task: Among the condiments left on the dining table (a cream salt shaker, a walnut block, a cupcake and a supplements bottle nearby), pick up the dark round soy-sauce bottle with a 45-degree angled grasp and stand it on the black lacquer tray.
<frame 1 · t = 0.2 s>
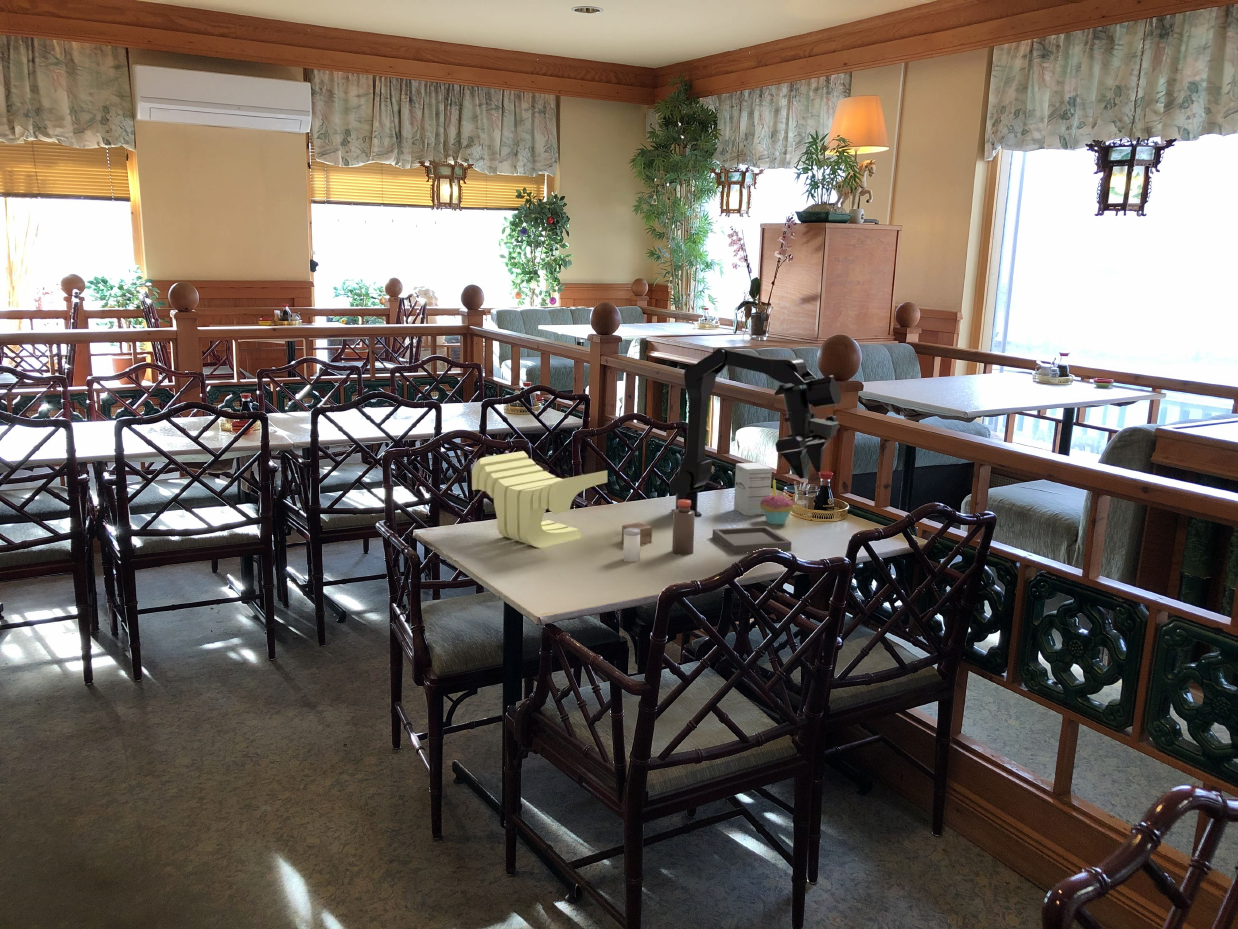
hand: (810, 475, 231), 15 cm above the table, tool pointing down, fingers open, 9 cm apart
soy bottle: (682, 552, 221), on the table
walnut block: (636, 542, 228), on the table
salt shaker: (631, 559, 214), on the table
tray: (750, 543, 228), on the table
cupcake: (775, 522, 248), on the table
slatted curved stool: (538, 539, 230), on the table
supplement box: (751, 512, 258), on the table
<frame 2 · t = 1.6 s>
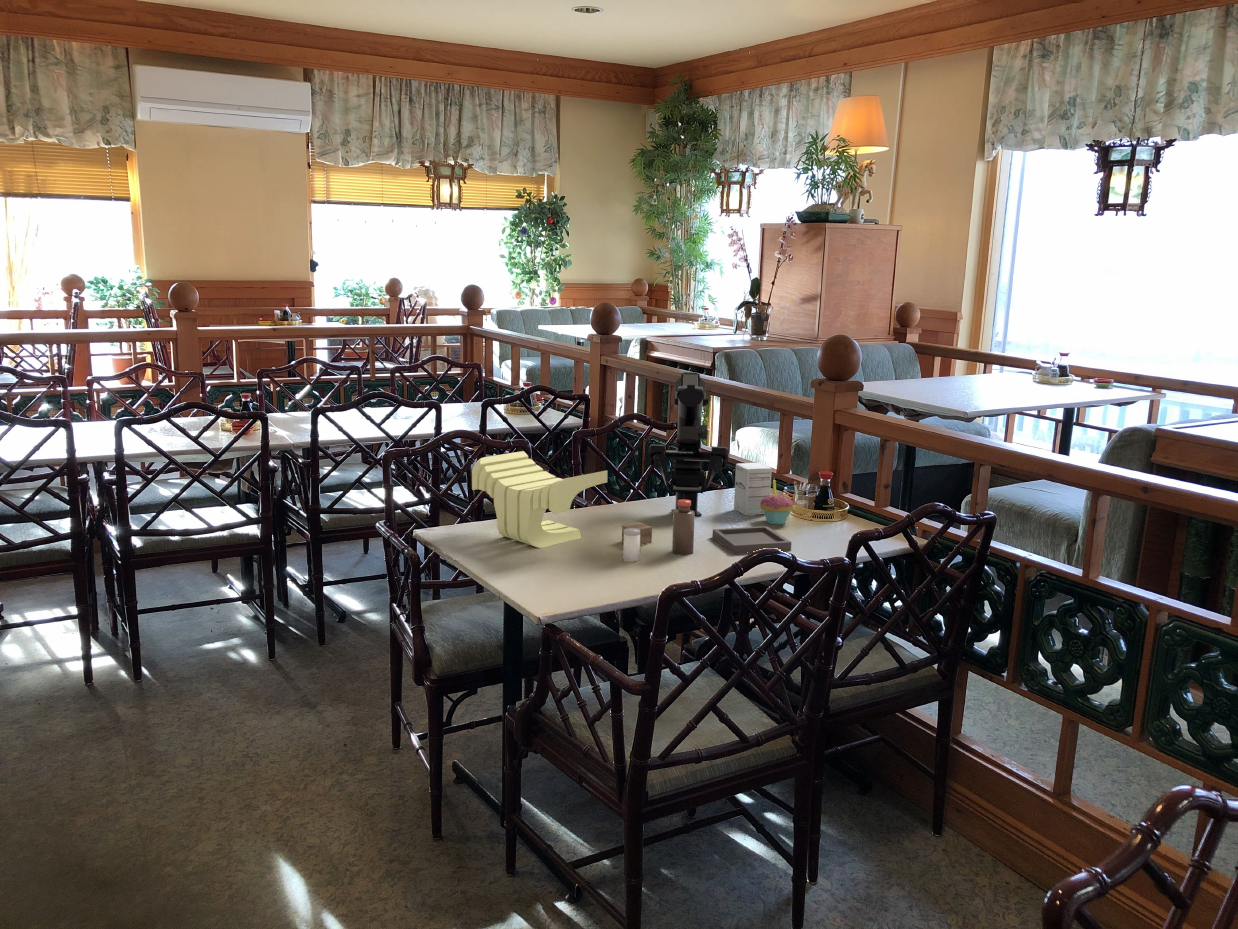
hand: (686, 486, 226), 13 cm above the table, tool tilted 45°, fingers open, 9 cm apart
nothing on the table moved.
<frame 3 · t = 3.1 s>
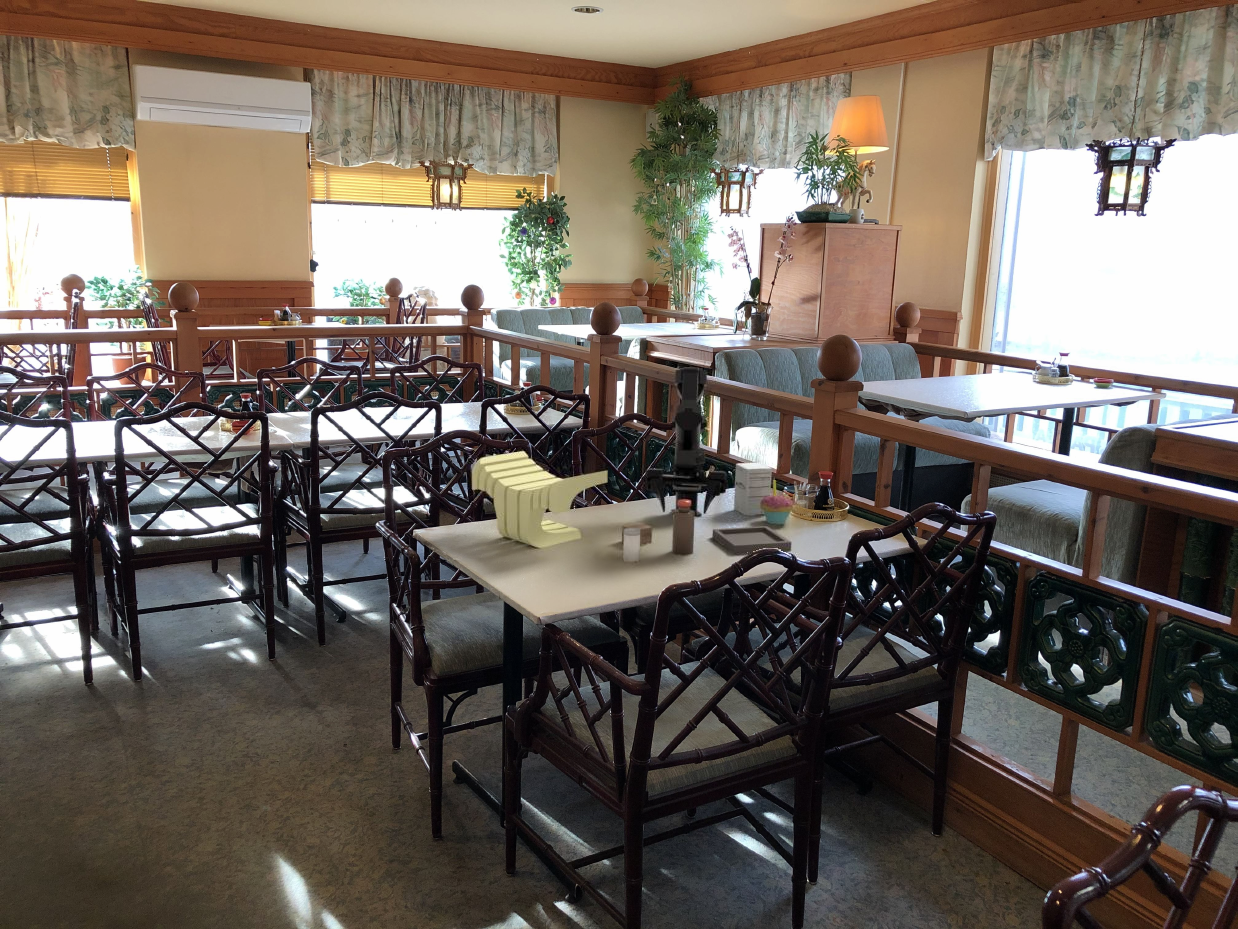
hand: (684, 512, 220), 9 cm above the table, tool tilted 45°, fingers open, 9 cm apart
nothing on the table moved.
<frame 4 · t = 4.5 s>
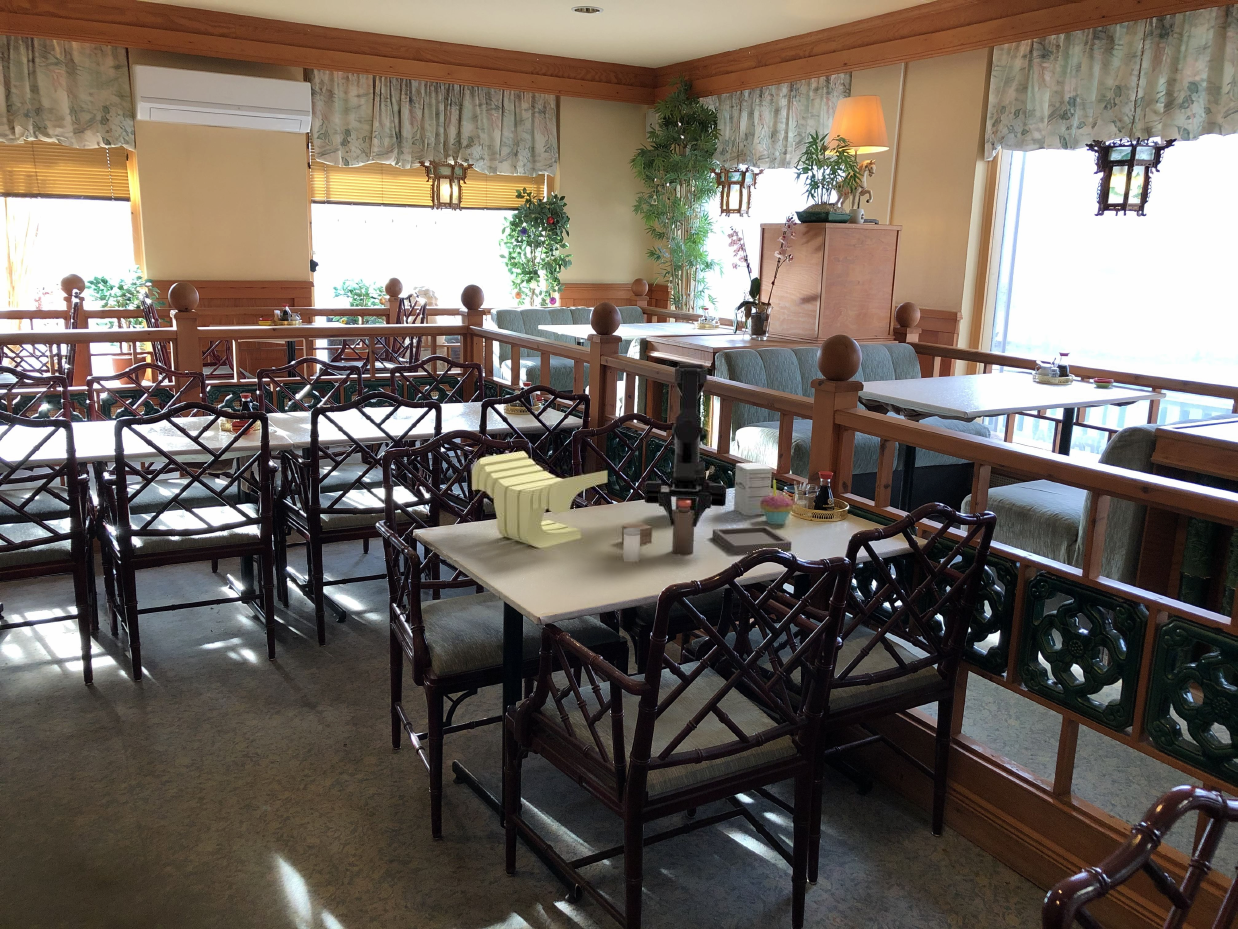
hand: (683, 525, 218), 7 cm above the table, tool tilted 45°, fingers closed on soy bottle, 5 cm apart
soy bottle: (682, 552, 221), on the table, touching gripper
everything else where it was.
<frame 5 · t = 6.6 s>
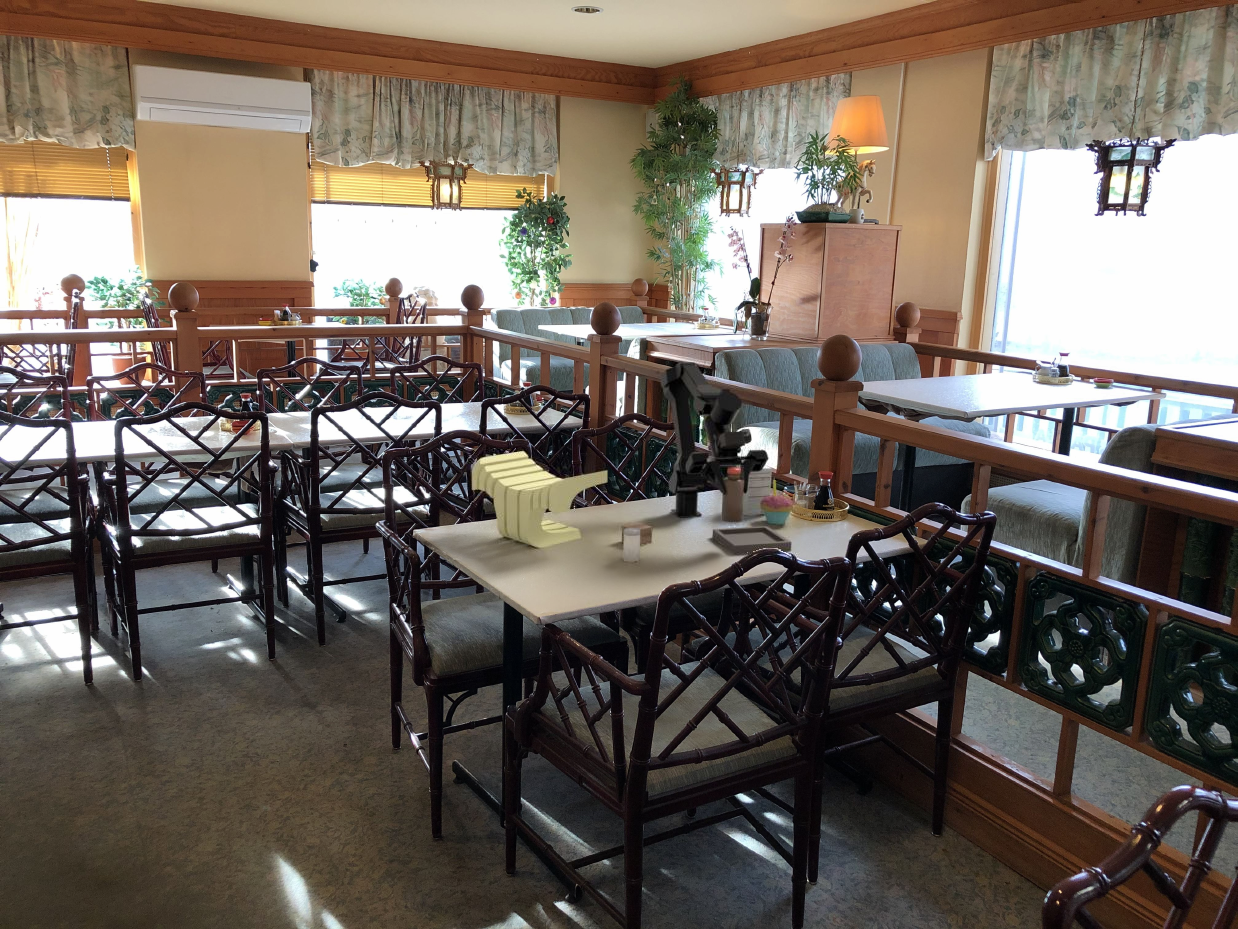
hand: (735, 493, 221), 13 cm above the table, tool tilted 45°, fingers closed on soy bottle, 5 cm apart
soy bottle: (731, 519, 223), point 7 cm above the table, touching gripper
everything else where it was.
when the fingers open (9 cm above the table, at t = 8.6 s): soy bottle drops 1 cm, resting on tray.
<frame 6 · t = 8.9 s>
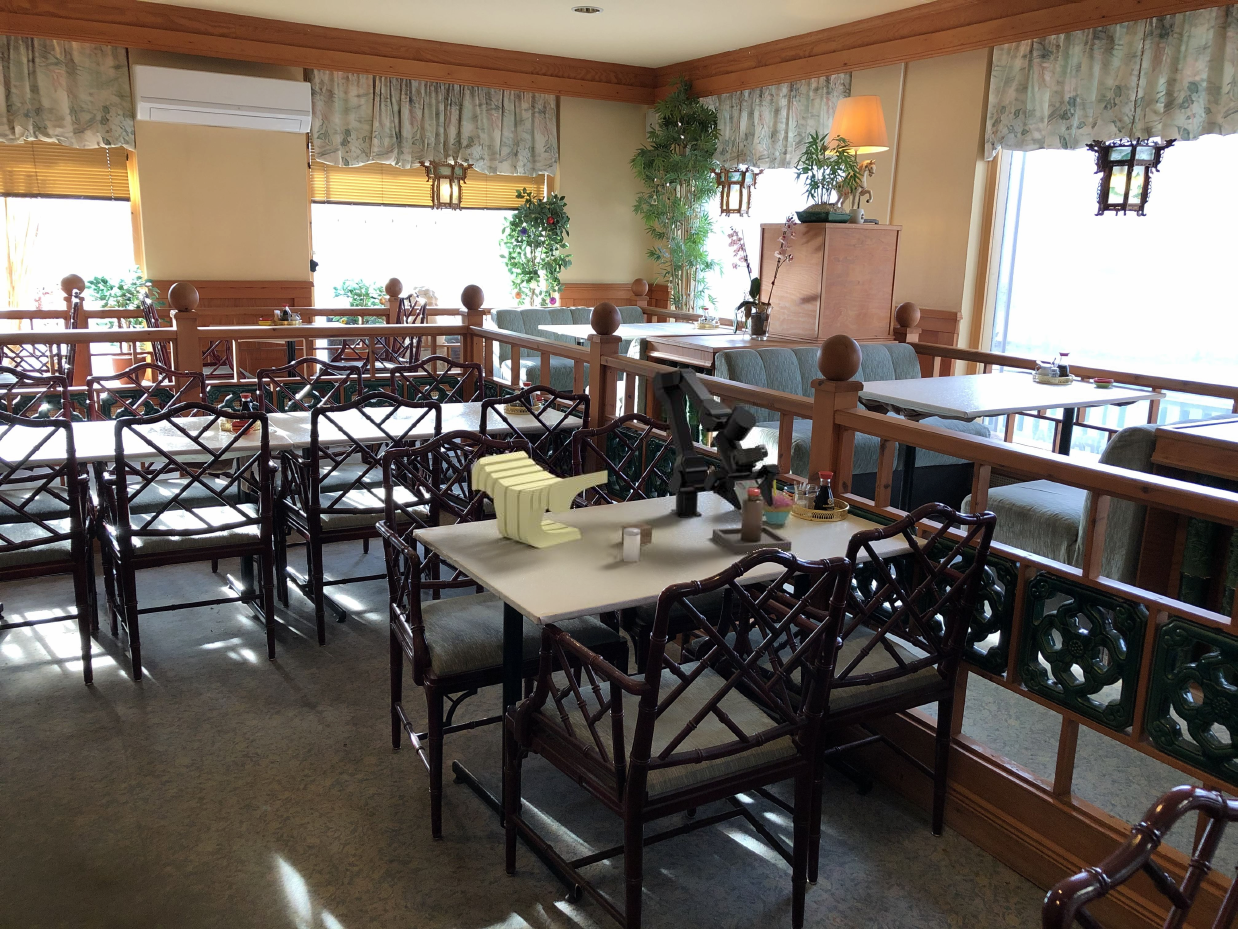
hand: (756, 507, 225), 9 cm above the table, tool tilted 45°, fingers open, 8 cm apart
soy bottle: (750, 539, 228), point 1 cm above the table, touching tray
everything else where it was.
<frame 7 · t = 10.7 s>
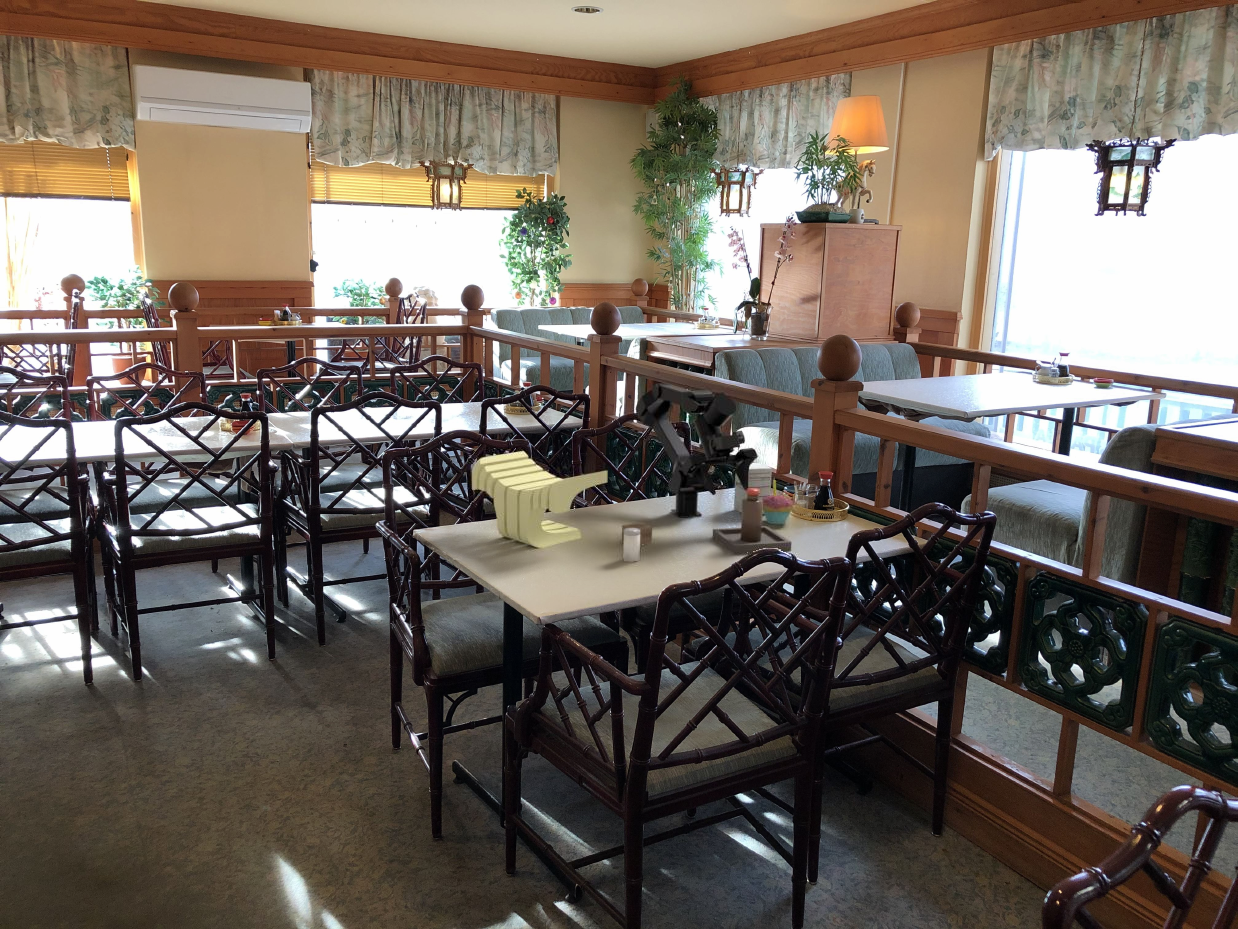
hand: (730, 492, 234), 10 cm above the table, tool tilted 40°, fingers open, 9 cm apart
nothing on the table moved.
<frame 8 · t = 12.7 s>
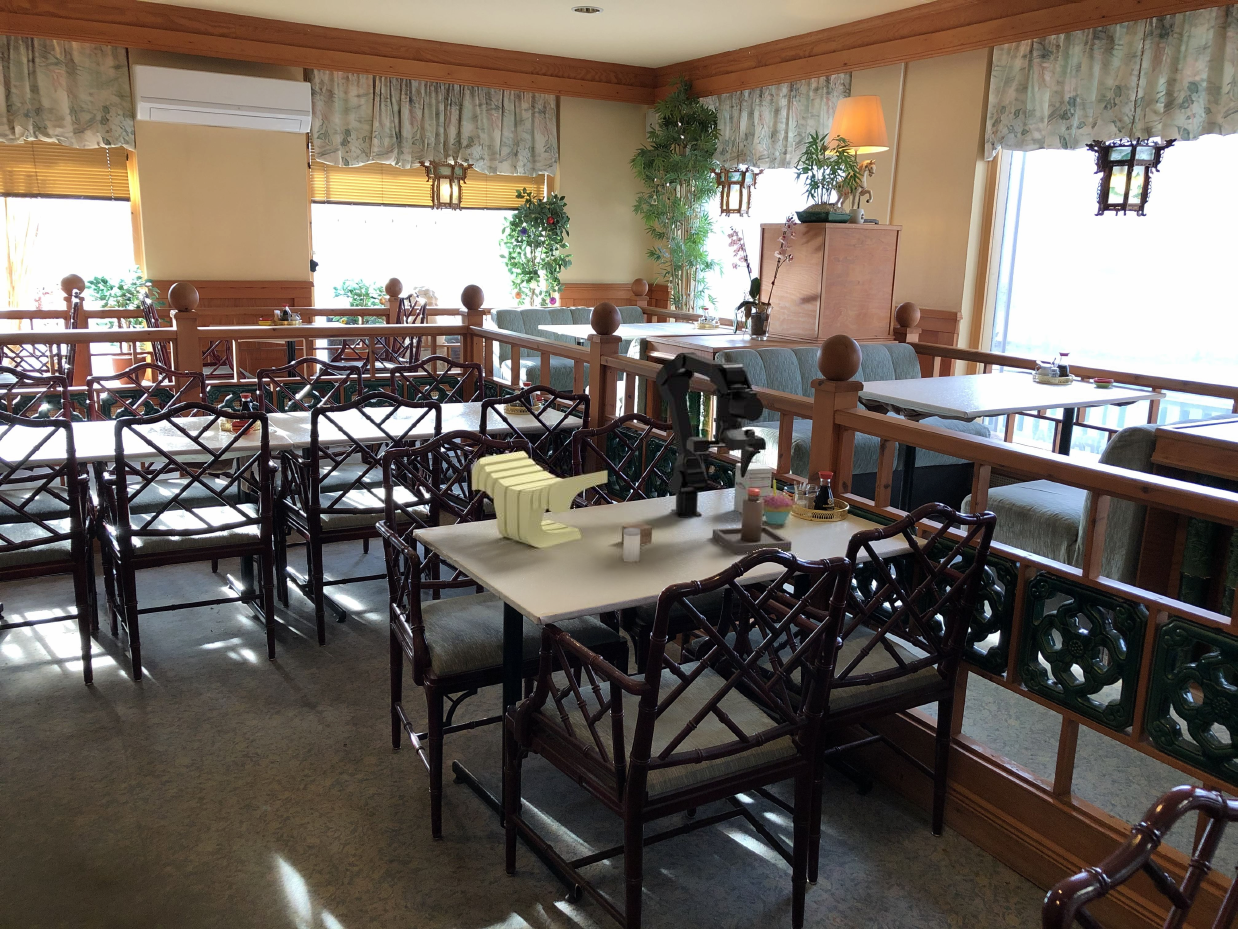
hand: (725, 478, 237), 13 cm above the table, tool pointing down, fingers open, 9 cm apart
nothing on the table moved.
at the end: soy bottle inside the target area on the tray (0.1 cm from its centre), point 1.0 cm above the tray's base; soy bottle tilted 1°; the gripper is holding nothing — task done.
